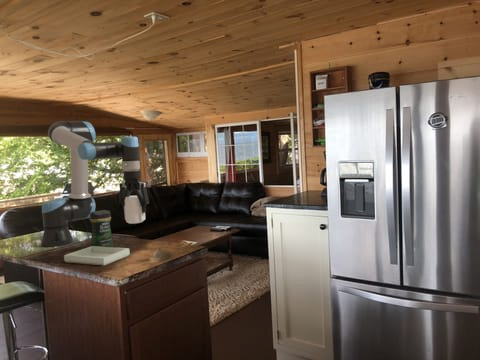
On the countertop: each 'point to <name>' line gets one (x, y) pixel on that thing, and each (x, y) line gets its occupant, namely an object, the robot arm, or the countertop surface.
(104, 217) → the coffee jar
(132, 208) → the beverage can
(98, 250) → the tray
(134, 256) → the countertop surface
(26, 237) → the countertop surface
